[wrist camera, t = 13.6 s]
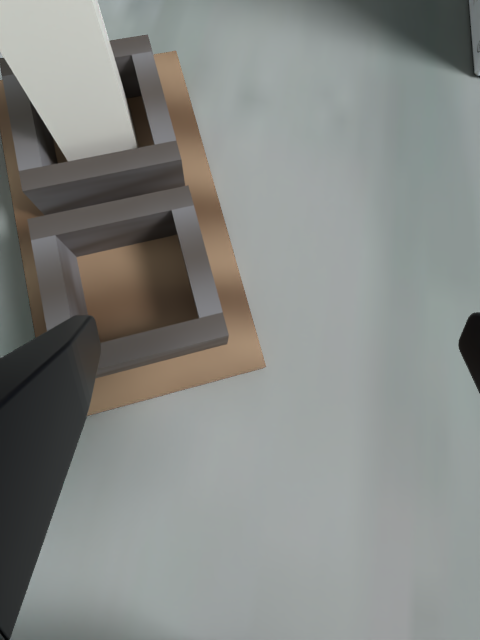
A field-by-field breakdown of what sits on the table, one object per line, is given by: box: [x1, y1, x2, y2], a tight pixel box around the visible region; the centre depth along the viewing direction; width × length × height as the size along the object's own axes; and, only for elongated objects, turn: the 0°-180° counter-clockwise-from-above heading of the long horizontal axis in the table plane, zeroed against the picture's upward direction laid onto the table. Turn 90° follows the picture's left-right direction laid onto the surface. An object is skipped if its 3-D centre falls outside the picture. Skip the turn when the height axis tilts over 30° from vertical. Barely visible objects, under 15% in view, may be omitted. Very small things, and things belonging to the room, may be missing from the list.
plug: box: [0, 0, 139, 161], centre depth 17 cm, size 4×4×13 cm
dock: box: [0, 35, 266, 416], centre depth 22 cm, size 22×12×4 cm, turn 15°
